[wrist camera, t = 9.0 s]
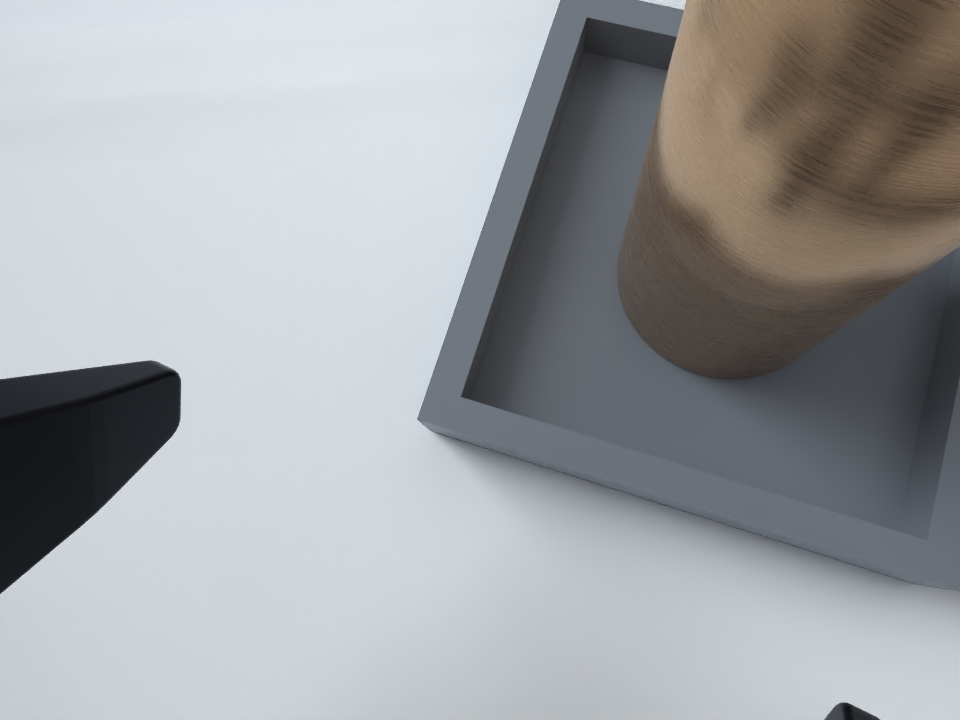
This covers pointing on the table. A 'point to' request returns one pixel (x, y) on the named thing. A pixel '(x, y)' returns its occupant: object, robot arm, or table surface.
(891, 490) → the tray
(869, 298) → the can
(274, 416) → the table surface
